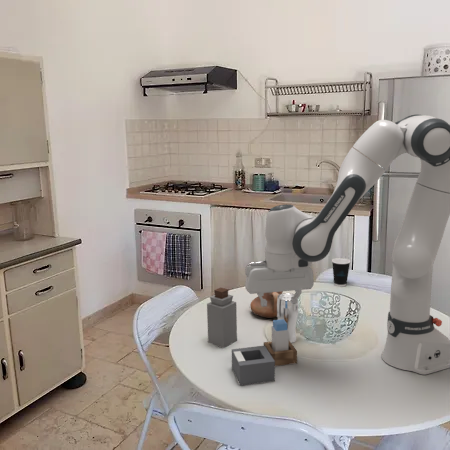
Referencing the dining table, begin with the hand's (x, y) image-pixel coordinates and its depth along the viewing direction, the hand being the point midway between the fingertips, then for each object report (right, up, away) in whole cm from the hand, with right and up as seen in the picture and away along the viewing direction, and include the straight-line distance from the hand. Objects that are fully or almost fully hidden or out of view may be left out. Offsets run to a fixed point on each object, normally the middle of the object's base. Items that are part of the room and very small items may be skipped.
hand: (279, 304), depth 147 cm
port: (-8, -19, -5) cm, 21 cm away
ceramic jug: (+1, -10, +38) cm, 39 cm away
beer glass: (+4, -14, +17) cm, 22 cm away
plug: (+1, -17, +4) cm, 18 cm away
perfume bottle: (-17, -15, +16) cm, 28 cm away
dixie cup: (+34, -3, +68) cm, 76 cm away
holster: (+1, -17, +4) cm, 18 cm away
